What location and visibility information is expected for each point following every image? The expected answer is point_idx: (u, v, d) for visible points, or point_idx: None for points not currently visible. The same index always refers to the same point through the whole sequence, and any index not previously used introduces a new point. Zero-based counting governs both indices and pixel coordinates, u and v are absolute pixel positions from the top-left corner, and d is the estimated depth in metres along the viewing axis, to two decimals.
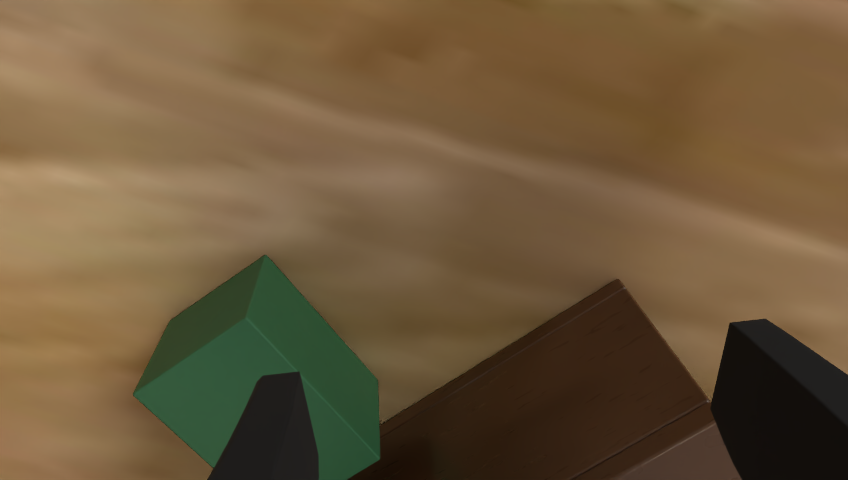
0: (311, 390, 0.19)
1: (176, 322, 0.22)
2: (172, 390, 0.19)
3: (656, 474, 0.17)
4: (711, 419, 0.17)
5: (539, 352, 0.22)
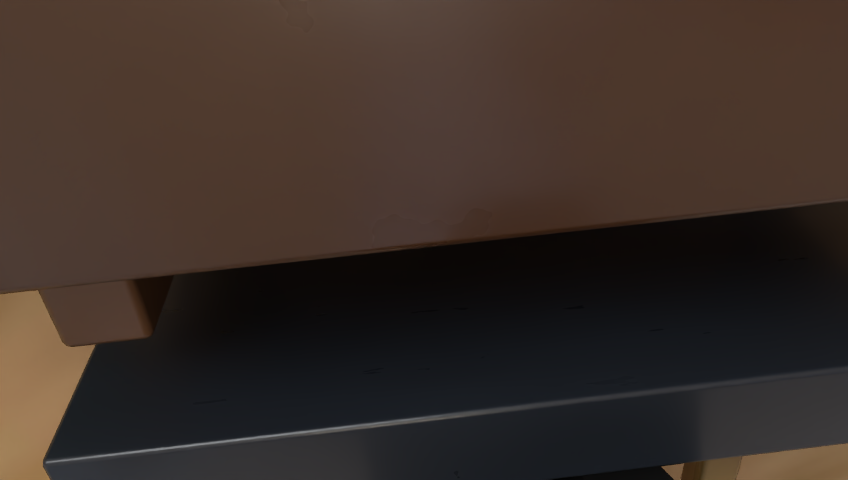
0: None
1: None
2: None
3: None
4: None
5: None
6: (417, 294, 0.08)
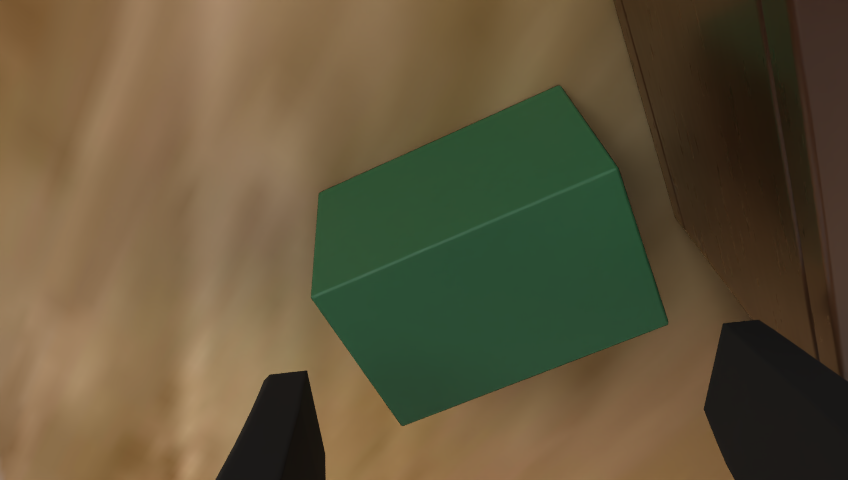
0: (452, 242, 0.12)
1: None
2: (406, 390, 0.14)
3: None
4: None
5: None
6: None
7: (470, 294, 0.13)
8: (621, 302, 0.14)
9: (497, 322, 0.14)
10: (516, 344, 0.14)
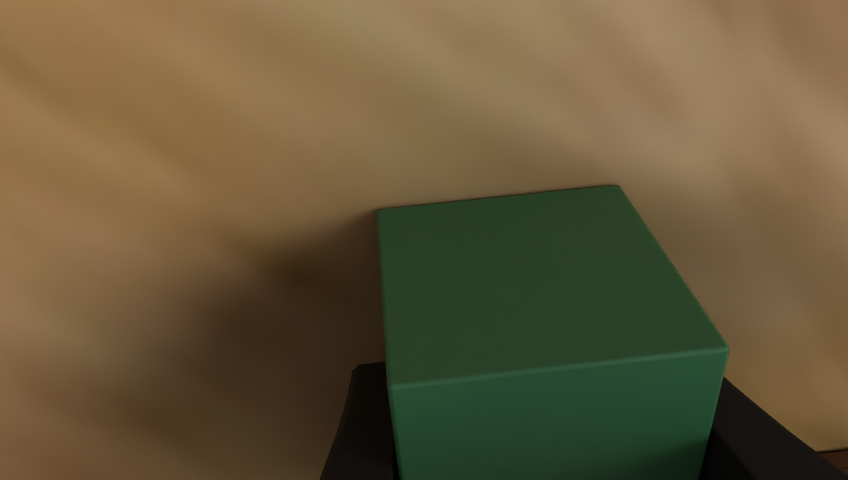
0: None
1: (411, 226, 0.11)
2: (472, 411, 0.08)
3: None
4: None
5: None
6: None
7: None
8: None
9: None
10: None
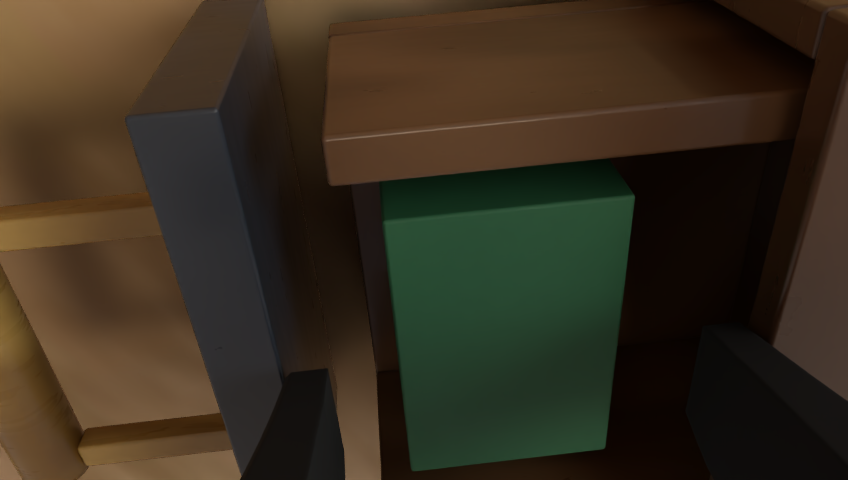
0: (614, 333, 0.12)
1: None
2: (444, 245, 0.11)
3: None
4: None
5: None
6: (282, 261, 0.12)
7: (547, 334, 0.12)
8: (461, 442, 0.14)
9: (495, 349, 0.12)
10: (455, 359, 0.12)
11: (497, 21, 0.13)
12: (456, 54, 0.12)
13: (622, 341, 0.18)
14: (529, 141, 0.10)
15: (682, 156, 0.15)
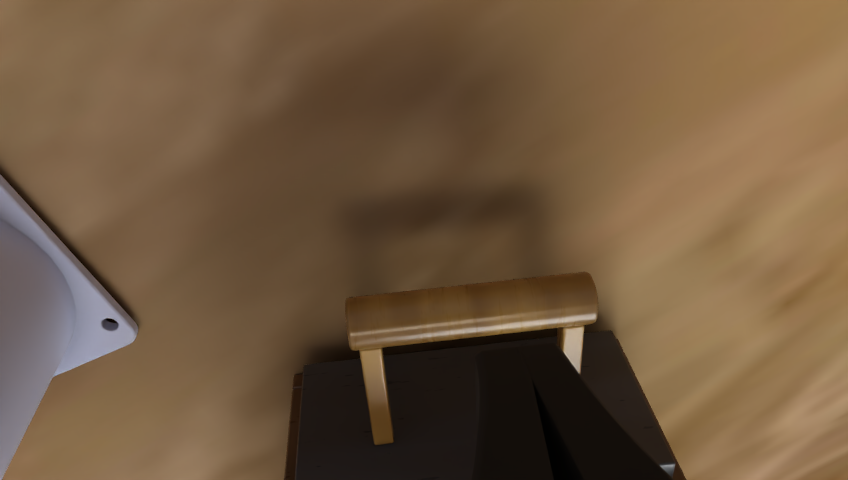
0: None
1: None
2: None
3: None
4: None
5: None
6: None
7: None
8: None
9: None
10: None
11: None
12: None
13: None
14: None
15: None
